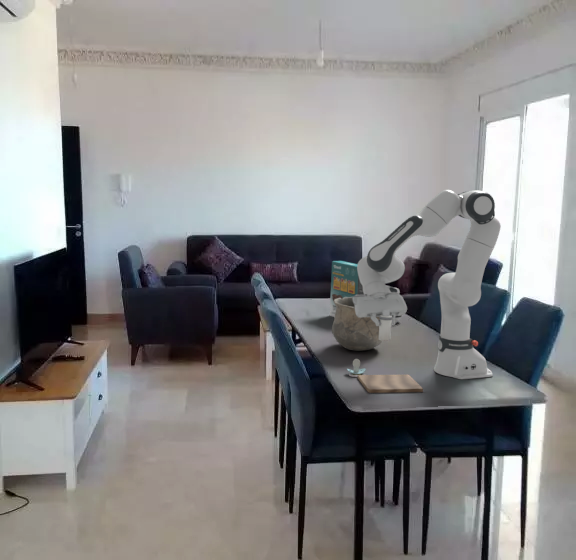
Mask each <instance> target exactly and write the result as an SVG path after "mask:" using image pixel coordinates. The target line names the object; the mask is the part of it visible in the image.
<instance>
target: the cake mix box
mask: <svg viewBox="0 0 576 560" xmlns="http://www.w3.org/2000/svg"><path fill="white" fill-rule="evenodd" d="M357 265H358V263H353V262H348V261H345V260H333V261H332V260H331V276H330V277H331V279H330V280H331V282H330V299H329V300H330V301H329V317H332V318H334V317H335V312H336V305H335V304H334V300H335V299H337V298H341V299H342V298H344V297H353V296H355V295H362V294H364V292H363V286H362V284H361V283H360V279H359V276H358V271H357Z"/></svg>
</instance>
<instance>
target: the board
mask: <svg viewBox="0 0 576 560" xmlns="http://www.w3.org/2000/svg"><path fill="white" fill-rule="evenodd" d="M357 379H358V381H359V382H360V383H361V385H362V386H363V388H364V389H365V390H366V391H367V393H368V394H370V393H371V394H372V393H373V394H374V393H375V394H376V393H378V394H380V393H382V394H383V393H385V394H386V393H388V394H389V393H422V392H424V388H423V387H422V386H421V385H420V384H419V383H418V382H417V381H416V380H415V379H414V378H413V377H412V376H411V375H410V374H365V375H358V377H357Z"/></svg>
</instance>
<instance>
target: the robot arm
mask: <svg viewBox="0 0 576 560" xmlns="http://www.w3.org/2000/svg"><path fill="white" fill-rule="evenodd" d="M495 204H496V203H495V199H494V198H493V196H492V195H491V194H490V193H488V192H487V191H485V190H475V189H474V190H467V191H463V192H461V193H458V194H457V192H455V191H453V190H451V189H443V190H442V191H440V192H439V193H438V194H436V195H435V196H434V197H433V198H432V199H431V200H430V201H428V203H427V204H425V206H424V207H423V208H422V209H421V210H420V211H419V212H418V213H416V214H415V215H412V216H409V217H408V218H406V219H405V221H403V222H402V223H401V224H400V225H398V226H397V228H395V229H394V230H393V231H392V232H390V234H389V235H388V236H386V237H385V238H384V239H383V240H382V241H380V242H378V243H377V244H375V245H374V246H372V247H371V248H370V250H369V251H368V252H367V255H366V256H364V257H362V258H360V259H359V261H358V262H357V264H358V265H357V271H358V276H359V279H360V283H361V284H362V286H363V292H364V294H362V295H355V296H353V298H352V300H353V303H354V304H355V312H356V315H357V316H358V317H371V319H372V320H373V321H374V322H375V324H376V326H381V321H380V320H378V319H377V318H376V317H380V315H382V314H383V310H390V314H389V315H391V316H392V322H391V327H392V326H395V325H396V323H395V316H402V317H403V316H405V314H406V313H407V310H408V306H407V304H406V301H405V300H404V297H403V295H401V294H400V293H401V292H400V289H399V288H397V287H393V286H390V285H386V284H390V283H393V282H396V281H398V280H399V279H401V278H402V277H403V275H404V274H405V271H406V266H405V263H404V262H403V260H402V259H401V258H400V257H399V256H398V255H396V252H397V251H398V250H399V249H400V248H401V247H402V246H403V245H404V244H405V243H406V242H408V241H409V240H410V239H411V238H413V237H415V236H421V237H425V238H432V237H433V238H434V237H436V236H437V235H439V234H441V232H442V231H444V229H445V228H446V227H447V226H448V225H449V224H450V223H451V222H452V220H453V219H454V218H456V217H457V216H458V217H460V218H463V219H468V220H470V228H469V231H468V233H467V235H466V238H465V240H464V241H463V243H462V246H461V248H460V251H459V252H458V255H457V265H456V269H455V272H447V273H444V274H442V276H441V275H440V278H439V279H438V282H437V288H438V292H439V300H440V301H439V303H440V312H441V322H440V323H441V325H440V335H439V336H438V342H437V344H438V345H437V346H438V347H437V348H438V353H437V358H436V362H435V364H434V368H433V371H434V372H435V373H437V374H439V375H442V376H446V377H451V378H454V379H458V380H468V379H470V380H471V379H481V378H490V377H493V372H492V370H490V369H489V368H488V364H487V360H486V358H485V357H484V355H483V354H481V353H480V352H479V351H478V350H477V349H475V348H474V347H478V346H479V342H478V341H477V340H475V339H474V340H473V339H472V338H470V335H471V334H470V333H471V321H472V319H471V314H470V311H469V307H473V306H475V305H477V304H478V303H479V301H480V300H481V296H482V289H481V287H482V281H483V276H484V273H485V270H486V269H485V268H486V266H487V264H488V261H489V260H490V257H491V255H492V252H493V250H494V248H495V246H496V244H497V241H498V238H499V235H500V230H501V223H500V221H499V220H498V219H497V218H496V217H495V213H496V212H495V208H496V205H495Z"/></svg>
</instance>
